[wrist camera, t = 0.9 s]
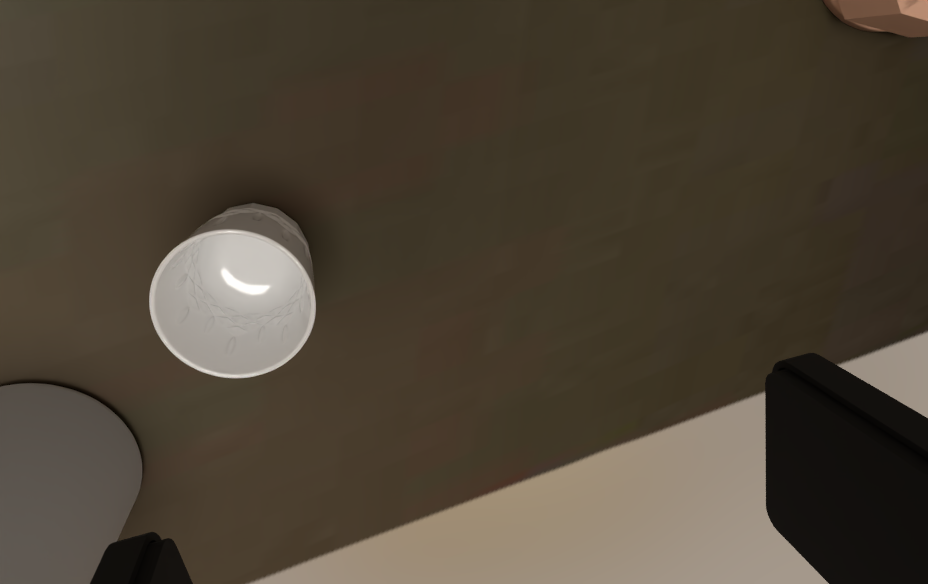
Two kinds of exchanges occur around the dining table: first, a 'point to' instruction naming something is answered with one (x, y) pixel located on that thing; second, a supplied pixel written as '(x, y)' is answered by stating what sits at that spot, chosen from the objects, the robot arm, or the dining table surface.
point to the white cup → (236, 293)
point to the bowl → (883, 15)
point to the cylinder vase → (61, 483)
